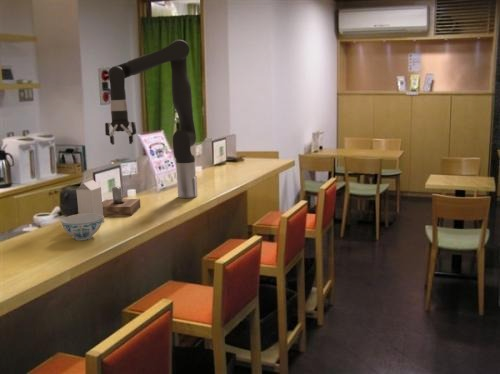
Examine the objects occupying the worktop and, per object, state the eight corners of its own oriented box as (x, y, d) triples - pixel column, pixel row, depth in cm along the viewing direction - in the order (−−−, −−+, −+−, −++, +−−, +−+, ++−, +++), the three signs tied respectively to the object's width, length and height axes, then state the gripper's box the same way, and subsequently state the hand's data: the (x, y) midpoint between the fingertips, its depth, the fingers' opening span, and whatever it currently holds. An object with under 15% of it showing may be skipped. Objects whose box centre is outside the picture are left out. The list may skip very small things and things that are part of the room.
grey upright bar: (124, 208, 263) (122, 186, 261) (121, 210, 259) (119, 188, 257) (115, 208, 264) (113, 186, 262) (112, 210, 260) (110, 188, 258)
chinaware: (93, 244, 212) (91, 223, 211) (55, 243, 215) (53, 223, 213) (110, 232, 227) (108, 213, 225) (74, 232, 229) (72, 213, 228)
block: (140, 207, 269) (139, 198, 268) (131, 215, 253) (130, 206, 253) (106, 207, 270) (105, 199, 269) (95, 216, 254) (94, 207, 254)
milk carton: (104, 222, 244) (100, 177, 240) (94, 226, 237) (90, 180, 233) (89, 221, 246) (85, 177, 242) (79, 225, 239) (75, 180, 236)
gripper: (136, 108, 276) (138, 142, 279) (106, 109, 277) (109, 143, 280) (131, 109, 269) (134, 144, 272) (101, 110, 270) (104, 145, 273)
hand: (121, 144), depth 276 cm, fingers open, 8 cm apart
